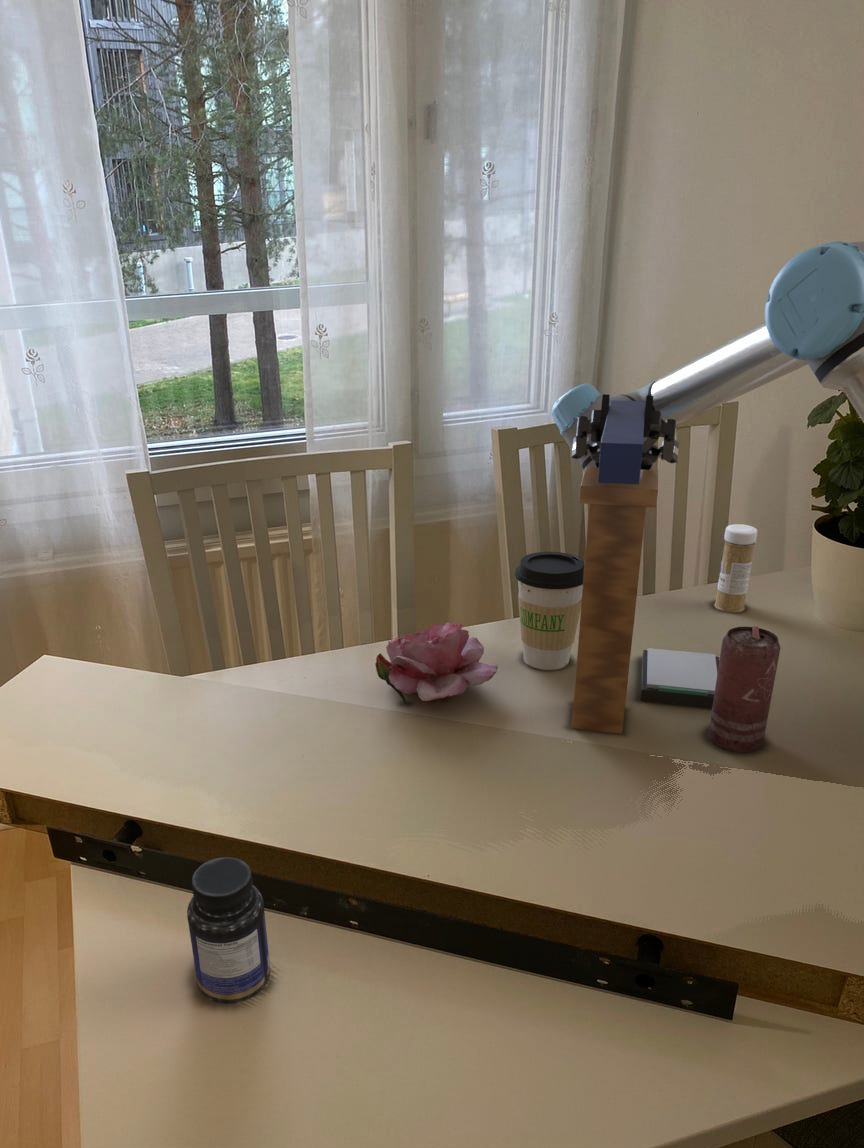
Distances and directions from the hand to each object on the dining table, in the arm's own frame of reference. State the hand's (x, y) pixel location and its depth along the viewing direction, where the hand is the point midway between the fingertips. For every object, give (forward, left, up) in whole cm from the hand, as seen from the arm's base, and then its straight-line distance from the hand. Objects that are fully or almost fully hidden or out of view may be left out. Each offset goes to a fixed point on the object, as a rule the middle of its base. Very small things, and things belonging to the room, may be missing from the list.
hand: (626, 406), depth 101 cm
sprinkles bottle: (-18, -36, -38) cm, 55 cm away
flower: (+21, +2, -38) cm, 44 cm away
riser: (0, +4, -38) cm, 38 cm away
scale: (-10, -8, -38) cm, 40 cm away
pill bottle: (+27, +54, -38) cm, 72 cm away
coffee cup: (+8, -11, -38) cm, 40 cm away
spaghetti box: (0, +4, -5) cm, 6 cm away
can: (-16, +5, -38) cm, 42 cm away
